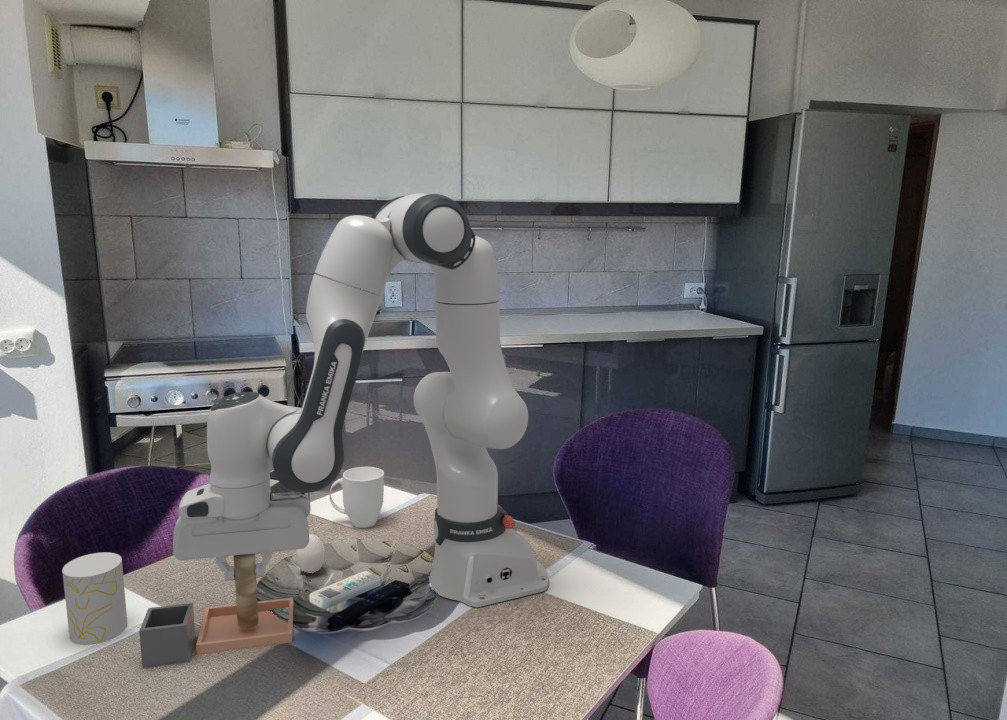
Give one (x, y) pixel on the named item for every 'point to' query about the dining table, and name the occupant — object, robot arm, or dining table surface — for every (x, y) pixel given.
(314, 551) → the egg
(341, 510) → the mug
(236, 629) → the tray
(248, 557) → the dowel
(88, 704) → the dining table surface
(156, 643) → the holder
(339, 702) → the dining table surface
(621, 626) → the dining table surface
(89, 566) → the grey patterned cylinder
